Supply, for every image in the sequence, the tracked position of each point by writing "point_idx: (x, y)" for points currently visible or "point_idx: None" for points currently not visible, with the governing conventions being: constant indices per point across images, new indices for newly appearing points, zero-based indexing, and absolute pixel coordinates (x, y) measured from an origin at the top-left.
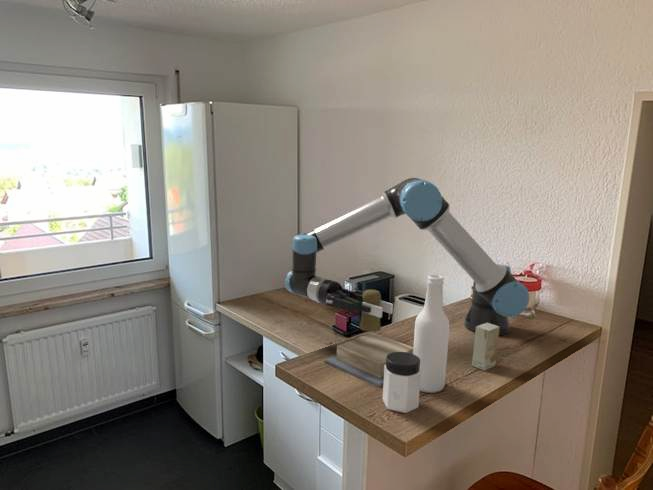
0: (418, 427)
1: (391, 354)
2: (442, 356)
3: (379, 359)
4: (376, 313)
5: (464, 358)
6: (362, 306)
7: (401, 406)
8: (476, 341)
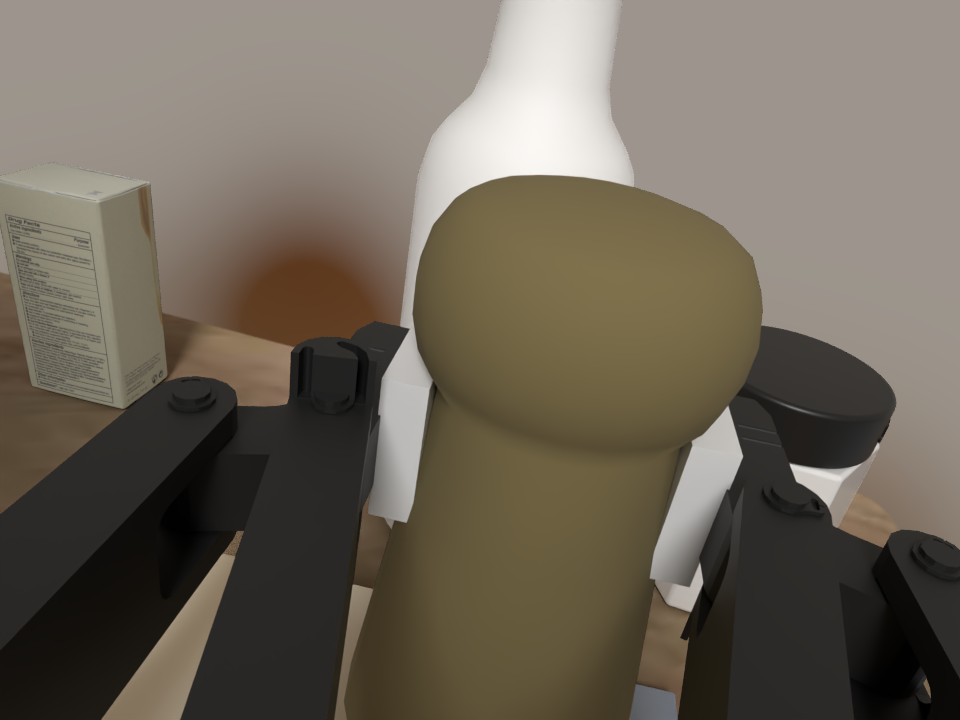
0: None
1: (827, 405)
2: None
3: None
4: None
5: (14, 440)
6: (788, 466)
7: None
8: (117, 279)
